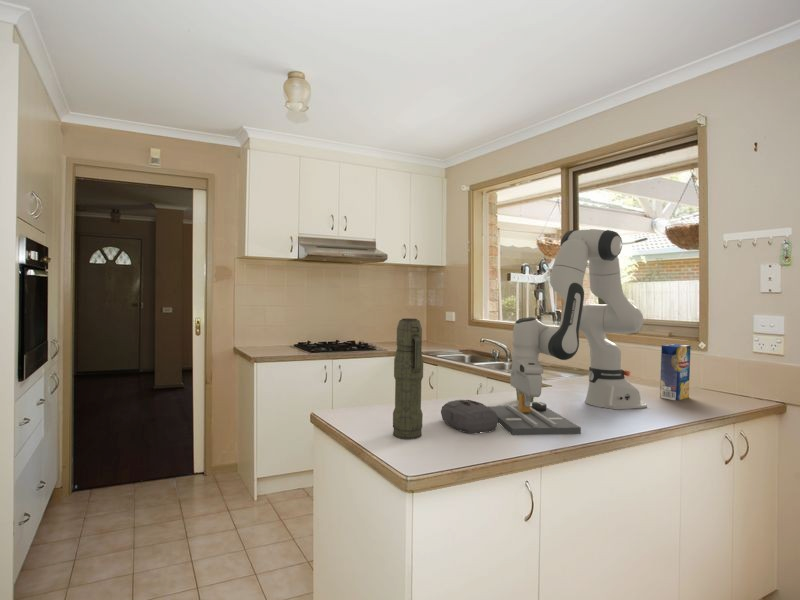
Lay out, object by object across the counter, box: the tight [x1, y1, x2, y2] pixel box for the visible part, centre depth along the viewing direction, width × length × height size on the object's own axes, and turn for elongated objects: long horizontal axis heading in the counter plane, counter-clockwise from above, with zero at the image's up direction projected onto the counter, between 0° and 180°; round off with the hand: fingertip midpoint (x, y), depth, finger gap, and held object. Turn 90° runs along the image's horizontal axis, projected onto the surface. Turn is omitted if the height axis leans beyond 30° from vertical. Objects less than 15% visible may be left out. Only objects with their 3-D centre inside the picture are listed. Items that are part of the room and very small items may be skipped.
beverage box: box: [659, 343, 692, 402], centre depth 211 cm, size 7×11×22 cm, turn 127°
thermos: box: [392, 318, 424, 440], centre depth 150 cm, size 9×12×35 cm
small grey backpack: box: [440, 399, 499, 434], centre depth 163 cm, size 15×8×20 cm
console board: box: [486, 401, 582, 436], centre depth 168 cm, size 22×28×4 cm
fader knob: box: [517, 393, 531, 412], centre depth 173 cm, size 3×3×6 cm
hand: (524, 404), depth 173 cm, fingers closed on fader knob, 3 cm apart
